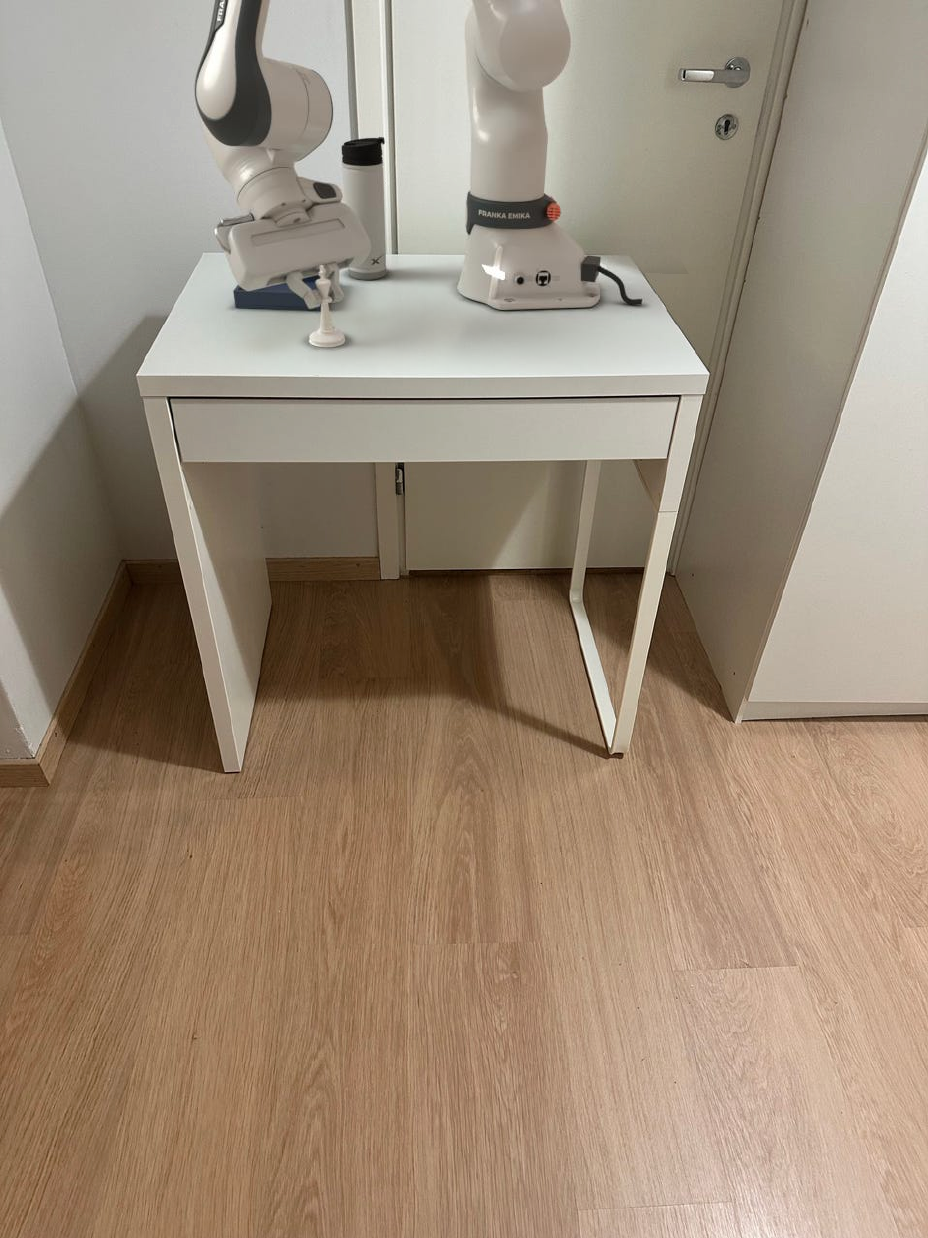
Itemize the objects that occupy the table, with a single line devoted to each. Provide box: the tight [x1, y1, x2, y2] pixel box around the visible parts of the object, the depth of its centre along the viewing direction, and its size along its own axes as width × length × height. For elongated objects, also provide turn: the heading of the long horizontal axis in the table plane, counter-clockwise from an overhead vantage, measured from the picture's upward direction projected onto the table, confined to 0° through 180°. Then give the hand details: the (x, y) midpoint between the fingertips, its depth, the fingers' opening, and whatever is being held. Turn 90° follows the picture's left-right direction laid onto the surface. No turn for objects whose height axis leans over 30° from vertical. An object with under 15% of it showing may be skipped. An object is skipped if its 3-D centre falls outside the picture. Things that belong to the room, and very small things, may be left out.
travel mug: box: [341, 136, 387, 281], centre depth 138 cm, size 6×7×20 cm
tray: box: [232, 275, 321, 312], centre depth 134 cm, size 13×12×2 cm
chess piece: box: [308, 265, 346, 349], centre depth 118 cm, size 5×5×10 cm
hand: (327, 302), depth 117 cm, fingers closed on chess piece, 2 cm apart
